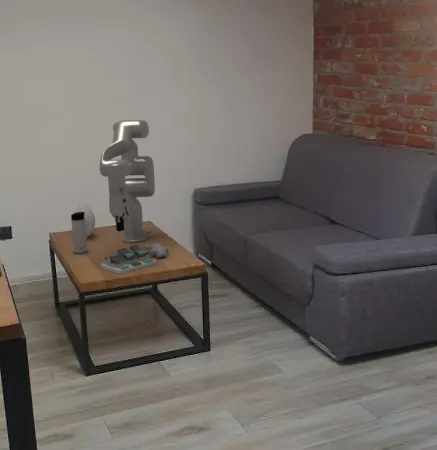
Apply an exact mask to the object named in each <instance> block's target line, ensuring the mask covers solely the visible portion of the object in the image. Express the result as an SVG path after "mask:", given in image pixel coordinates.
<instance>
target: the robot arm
mask: <svg viewBox="0 0 437 450" xmlns="http://www.w3.org/2000/svg"><path fill="white" fill-rule="evenodd" d="M149 128H150V127H149V124H148V122H147V121H146V120H142V119H127V120H126V119H124V120H118V121H117V122H115V123H114V124H113V125H112V131H113V138H112V143H111V144H109V145H107V147H106V148H105V149H104V150H103V151H102V152H101V156H100V160H99V173H100V175H101V176H102V177H105V178H107V182H108V194H109V195H108V202H109V203H108V207H109V213H110V214H111V216H112V217H113V218H114V222H115V229H116V231H117V232H123V231H124V236H123V237H122V238H121V240H122V242H124V243H140V242H144V241H146V240H147V239H148V237H147V234H151V233H152V229H146V228H145V229H144V220H143V206H142V203H141V202H140V200H139V199H138V198H151V197H153V196H154V194H155V192H156V191H155V190H156V186H155V185H156V184H155V165H154V160H153V157H151V156H148V155H140V156H139V147H138V144H137V143H136V141H135V140H134V139H146V138H147V137H148V136H149V133H150V129H149ZM116 157H120V159H114V158H116ZM128 176H131V178H130V177H129V178H126V177H128ZM132 176H143V177H132Z"/></svg>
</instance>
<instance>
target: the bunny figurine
mask: <svg viewBox="0 0 437 450" xmlns="http://www.w3.org/2000/svg"><path fill="white" fill-rule="evenodd" d="M142 249H147V250H149V252H148V255H149V257H155V258H156V259H162V258H166V257H167V254H168V253H169V248H168V247H165V246H162V243H158V242H155V243H153V244H150V245H149V244H144V245H143V247H142Z"/></svg>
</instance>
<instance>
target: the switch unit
mask: <svg viewBox="0 0 437 450" xmlns="http://www.w3.org/2000/svg"><path fill="white" fill-rule="evenodd" d="M142 249H143V250H144V251H145V248H142ZM130 252H131V253H132V254H134V255H135V251H130ZM106 257H107V256H106ZM155 265H158V261H157V260H156V259H152V258H150V256H148V255H146V256H144V257H140V258H139V257H138V256H136V255H135V259H131V260H126V259H125V258H123V255H122V258H119V259H114V260H111V258H109V257H107V260H106V259H105V260H103V263H101V264H100V268H103V269H105V270H107V271H110V272H113V273H115V274H118V275H122V274H126V273H129V272H133V270H134V271H137V270H140V269H144V268H148V267H151V266H155Z"/></svg>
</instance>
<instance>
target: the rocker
mask: <svg viewBox="0 0 437 450" xmlns="http://www.w3.org/2000/svg"><path fill="white" fill-rule="evenodd" d="M107 257H109V258H111V260H114V259H119V258H122V254H118V253H117V254H110V255H108V256H105V257H104V260H105V261H106V260H107Z"/></svg>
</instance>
